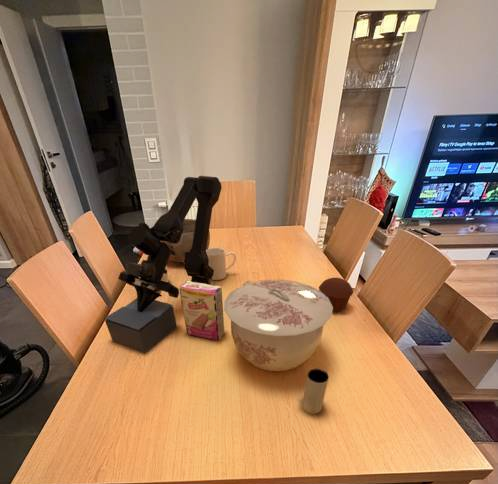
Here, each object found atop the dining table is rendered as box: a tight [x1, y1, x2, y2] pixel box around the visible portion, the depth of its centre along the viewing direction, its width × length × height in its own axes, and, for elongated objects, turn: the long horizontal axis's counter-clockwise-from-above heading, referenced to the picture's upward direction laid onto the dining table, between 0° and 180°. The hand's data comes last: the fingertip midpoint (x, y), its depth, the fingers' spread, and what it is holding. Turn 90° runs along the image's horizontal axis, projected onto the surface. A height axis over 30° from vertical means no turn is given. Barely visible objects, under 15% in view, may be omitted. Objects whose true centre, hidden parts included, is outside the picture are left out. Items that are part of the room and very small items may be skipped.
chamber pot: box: [223, 279, 333, 372], centre depth 80 cm, size 28×28×21 cm
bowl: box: [160, 218, 211, 263], centre depth 135 cm, size 24×24×15 cm
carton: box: [103, 306, 178, 354], centre depth 92 cm, size 15×13×8 cm
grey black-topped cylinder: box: [301, 368, 330, 415], centre depth 68 cm, size 4×4×10 cm
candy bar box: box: [178, 280, 225, 342], centre depth 89 cm, size 11×5×16 cm, turn 71°
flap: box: [124, 297, 173, 318], centre depth 92 cm, size 7×13×1 cm, turn 63°
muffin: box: [318, 277, 354, 314], centre depth 103 cm, size 12×11×10 cm
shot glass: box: [161, 265, 169, 283], centre depth 118 cm, size 7×7×7 cm
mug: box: [206, 247, 237, 281], centre depth 123 cm, size 12×8×10 cm, turn 98°
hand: (139, 311), depth 89 cm, fingers closed, pressing on carton, flap
